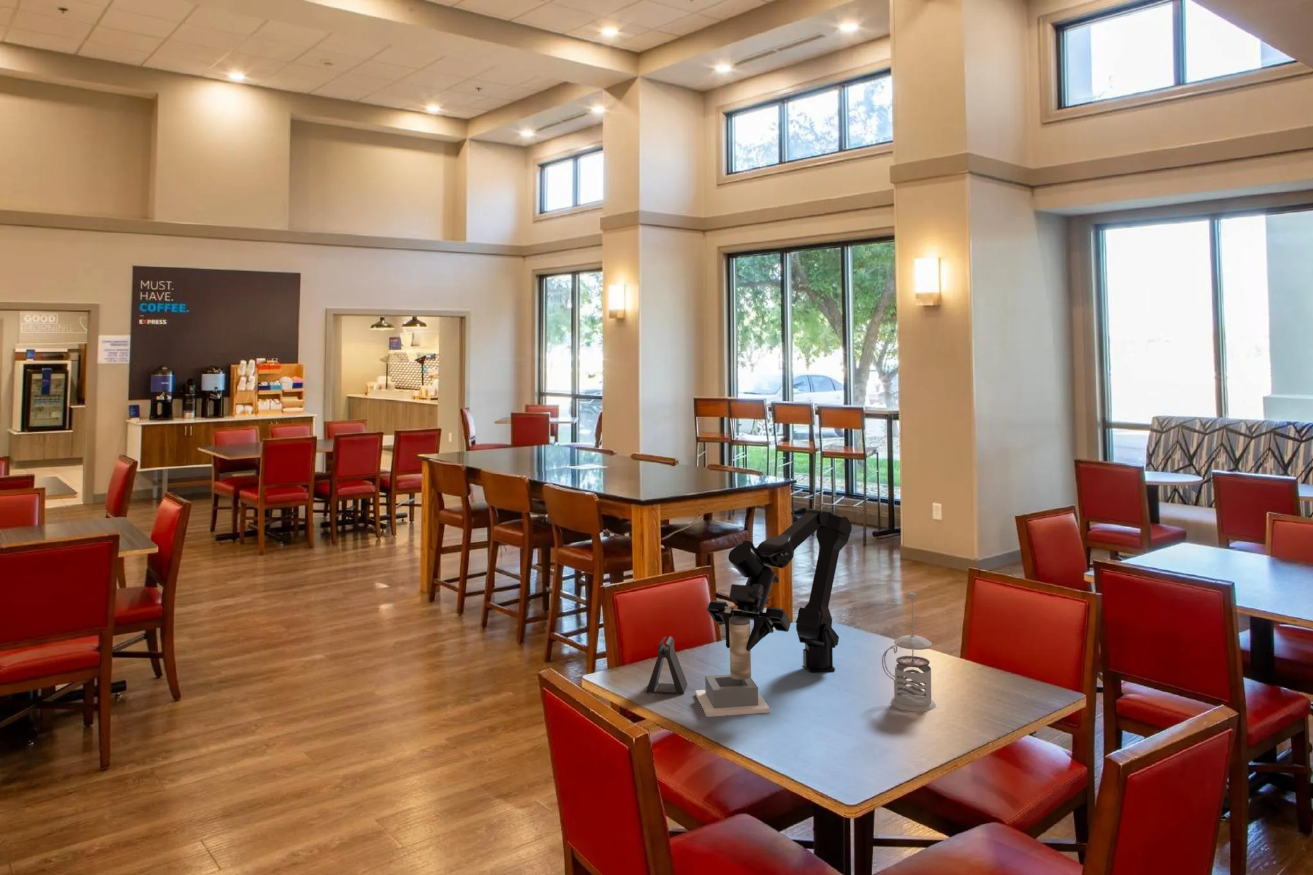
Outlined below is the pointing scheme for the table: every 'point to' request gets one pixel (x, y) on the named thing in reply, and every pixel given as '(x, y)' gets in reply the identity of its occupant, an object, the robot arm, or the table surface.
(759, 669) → the table surface
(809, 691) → the table surface
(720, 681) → the post socket
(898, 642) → the french press
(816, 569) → the robot arm
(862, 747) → the table surface
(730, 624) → the rail post
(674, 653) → the phone stand
